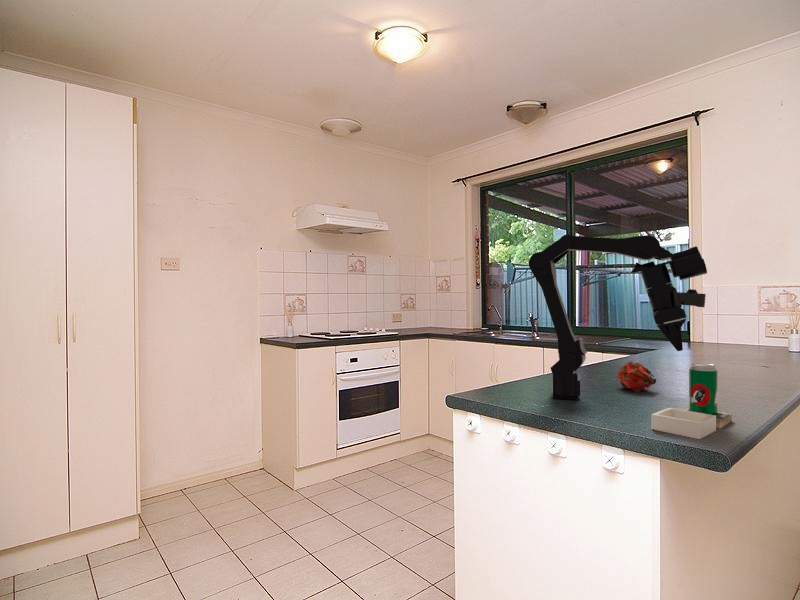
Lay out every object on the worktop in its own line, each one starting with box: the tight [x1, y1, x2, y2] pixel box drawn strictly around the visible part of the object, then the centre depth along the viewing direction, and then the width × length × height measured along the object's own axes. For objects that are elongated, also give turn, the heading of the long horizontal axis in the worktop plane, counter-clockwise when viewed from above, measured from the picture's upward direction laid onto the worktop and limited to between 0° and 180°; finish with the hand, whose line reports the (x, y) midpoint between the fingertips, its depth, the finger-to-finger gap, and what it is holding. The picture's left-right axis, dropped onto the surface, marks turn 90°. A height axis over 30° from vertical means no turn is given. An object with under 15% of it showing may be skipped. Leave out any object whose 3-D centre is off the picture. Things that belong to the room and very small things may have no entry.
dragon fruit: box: [616, 361, 657, 393], centre depth 131 cm, size 8×8×12 cm
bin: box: [650, 407, 717, 440], centre depth 92 cm, size 9×9×3 cm
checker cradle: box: [682, 406, 733, 429], centre depth 99 cm, size 8×8×2 cm
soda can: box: [688, 362, 719, 420], centre depth 99 cm, size 5×5×12 cm
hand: (679, 348), depth 110 cm, fingers open, 9 cm apart
